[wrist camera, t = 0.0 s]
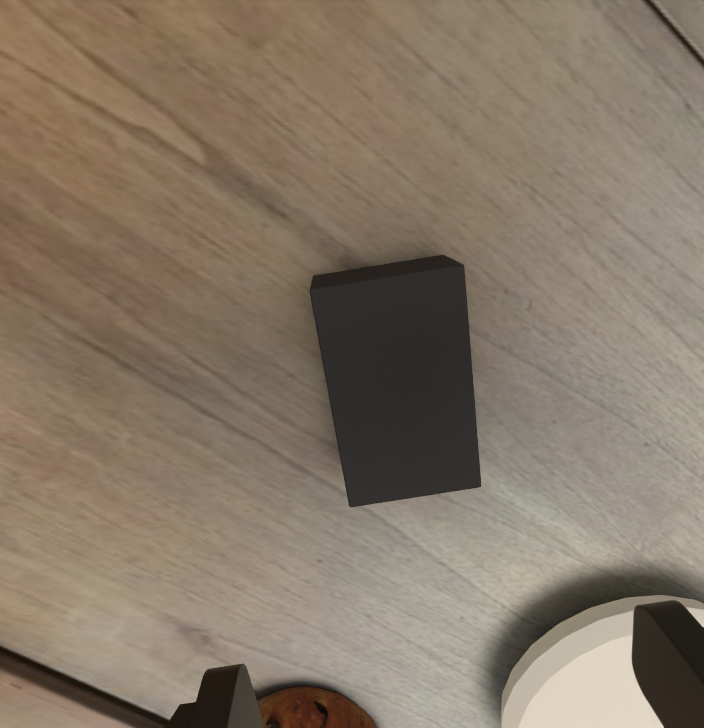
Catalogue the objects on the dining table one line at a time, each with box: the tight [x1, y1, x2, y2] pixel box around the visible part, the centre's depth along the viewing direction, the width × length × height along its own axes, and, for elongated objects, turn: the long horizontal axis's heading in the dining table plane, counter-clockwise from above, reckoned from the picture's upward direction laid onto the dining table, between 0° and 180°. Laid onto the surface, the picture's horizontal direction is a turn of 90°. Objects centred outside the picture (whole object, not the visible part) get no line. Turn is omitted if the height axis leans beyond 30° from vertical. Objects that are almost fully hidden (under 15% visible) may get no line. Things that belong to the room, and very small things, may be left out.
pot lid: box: [501, 595, 704, 728], centre depth 27 cm, size 16×16×7 cm
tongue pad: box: [310, 255, 481, 507], centre depth 22 cm, size 10×6×4 cm, turn 9°
